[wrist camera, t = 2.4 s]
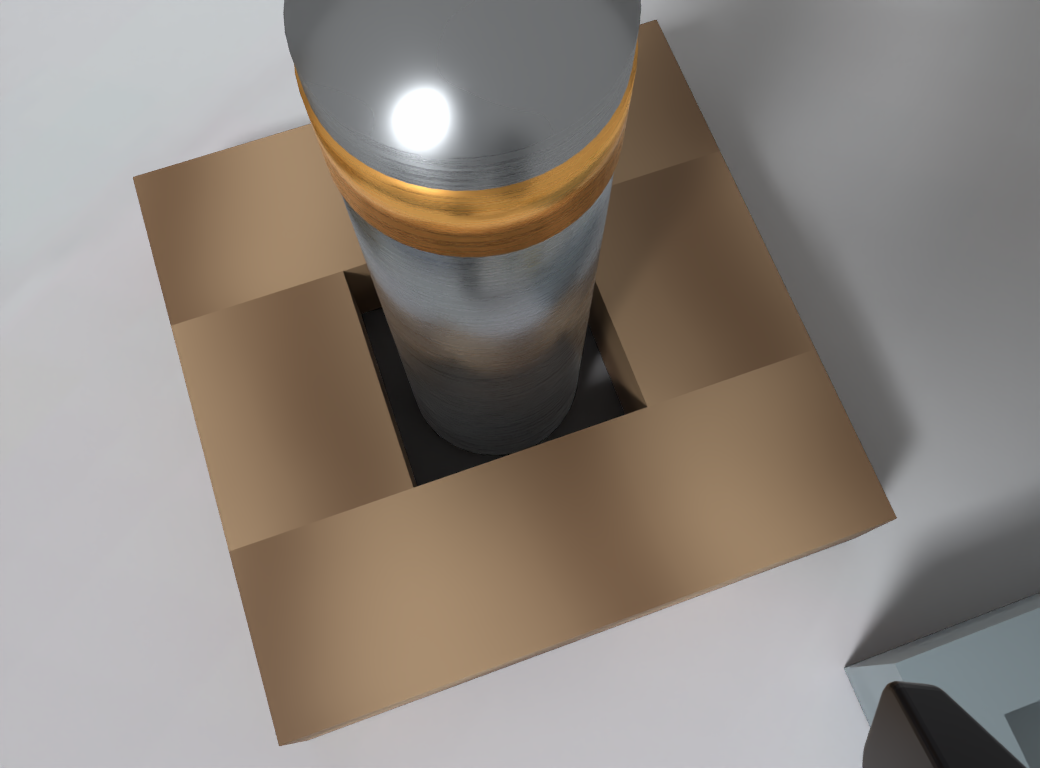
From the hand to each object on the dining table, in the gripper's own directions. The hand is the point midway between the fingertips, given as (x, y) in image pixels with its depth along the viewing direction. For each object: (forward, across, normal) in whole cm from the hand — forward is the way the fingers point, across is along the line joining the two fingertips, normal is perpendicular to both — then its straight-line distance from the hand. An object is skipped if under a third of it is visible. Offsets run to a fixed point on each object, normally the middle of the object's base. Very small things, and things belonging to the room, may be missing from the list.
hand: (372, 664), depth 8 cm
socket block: (+14, 0, +4) cm, 15 cm away
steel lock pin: (+14, 0, +4) cm, 15 cm away
